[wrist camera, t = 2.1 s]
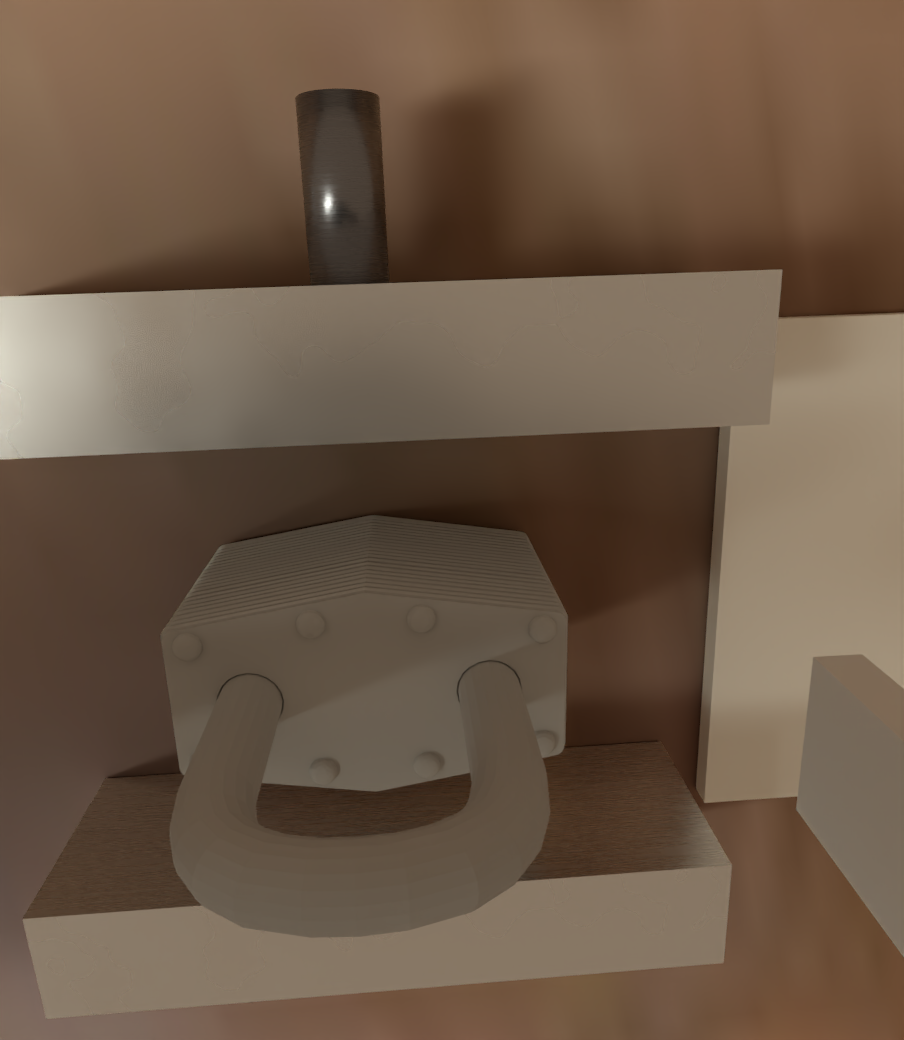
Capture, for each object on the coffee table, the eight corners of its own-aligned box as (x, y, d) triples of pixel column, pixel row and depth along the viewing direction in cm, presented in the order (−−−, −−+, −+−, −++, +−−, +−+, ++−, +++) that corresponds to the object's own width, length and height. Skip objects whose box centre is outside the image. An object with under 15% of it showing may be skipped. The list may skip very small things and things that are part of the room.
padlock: (526, 504, 18) (667, 749, 9) (526, 661, 19) (652, 1030, 10) (215, 517, 18) (4, 790, 8) (234, 677, 19) (69, 1077, 9)
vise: (120, 862, 20) (45, 1019, 16) (-16, 135, 15) (-178, 78, 11) (656, 823, 21) (724, 963, 17) (692, 118, 16) (800, 58, 12)
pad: (696, 788, 21) (704, 802, 20) (726, 319, 17) (738, 320, 17) (1023, 765, 21) (1040, 779, 21) (1118, 304, 18) (1141, 305, 17)
